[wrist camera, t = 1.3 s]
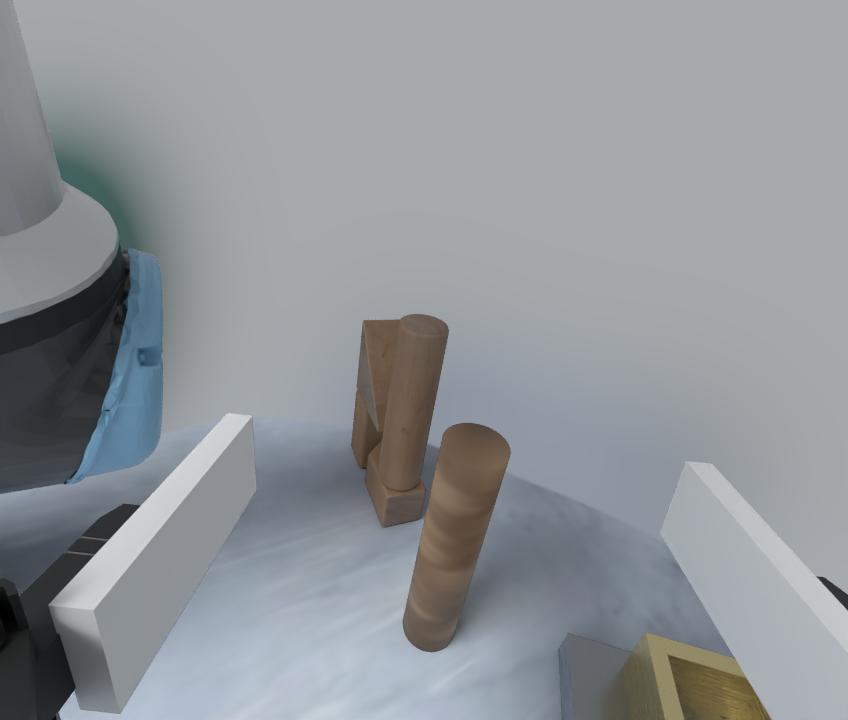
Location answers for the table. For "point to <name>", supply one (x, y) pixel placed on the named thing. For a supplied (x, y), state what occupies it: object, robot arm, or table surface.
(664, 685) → the yellow socket on base
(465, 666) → the table surface
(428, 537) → the wooden cylinder
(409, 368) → the wooden block stack
